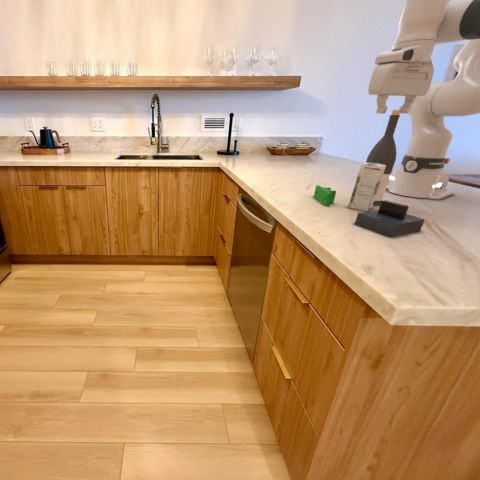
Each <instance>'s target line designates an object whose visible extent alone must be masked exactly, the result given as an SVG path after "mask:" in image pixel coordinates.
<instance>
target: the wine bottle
mask: <svg viewBox="0 0 480 480" xmlns="http://www.w3.org/2000/svg"><path fill="white" fill-rule="evenodd" d="M400 117H401V113H399V109H393V110H392V111H391V114H389V119H388V122H387V125H386V128H385V132H384V135H383V136H382V137H381V138H380V139H379V140H378V142H377V143H376V144H375V145H374V146H373V148H372V149H371V151H370V152H369V154H368V155H367V157H366V161H365V163H378V164H383V165H386V168H385V170H384V173H383V176H382V179H381V182H380V185H379V188H378V191H377V194H376V197H375V200H374V203H373V205H372V206H380V205H381V202H382V201H383V200H384V199H383V198H384V196H385V193H386V190H387V189H386V187H387V185H388V183H389V181H390V176H392V172H393V170H394V166H395V163H396V161H397V144H396V141H395V138H394V134H395V131H396V128H397V125H398V122H399V118H400Z"/></svg>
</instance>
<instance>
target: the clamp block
mask: <svg viewBox="0 0 480 480" xmlns="http://www.w3.org/2000/svg"><path fill="white" fill-rule="evenodd" d="M378 210H379V209H371V210H368V211H361V212H357V214H356V219H355V222H354V225H356V226H357V227H361V228H364V229H365V230H369V231H372V232H374V233H377V234H380V235H383V236H385V237H388V238H394V237H399V236H404V235H408V234H414V233H418V232H421V230H422V228H423V225H424V223H425V220H426V219H425V218H422V217H419V216H415V215H412V214H408V213H406V215H405V218H404V219H401V220H400V219H397V218H394V217H390V216H387V215H384V214H381V213H378Z"/></svg>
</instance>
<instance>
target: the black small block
mask: <svg viewBox="0 0 480 480" xmlns="http://www.w3.org/2000/svg"><path fill="white" fill-rule="evenodd" d="M377 210H378V213H381V214H384V215H387V216H390V217H394V218H397V219H400V220H401V219H404V218H405V215H406V214H408V210H409V205H408V204H404V203H403V204H402V203H398V202H394V201H390V200H387V199H386V200H384V199H383V200H382V202H381V203H380V205H379V208H378V209H377Z"/></svg>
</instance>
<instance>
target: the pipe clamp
mask: <svg viewBox="0 0 480 480" xmlns="http://www.w3.org/2000/svg"><path fill="white" fill-rule="evenodd" d="M331 189H332V188H331V187H323V186H321V185H319V184H316V185H315V189H314V193H313V198H314V199H315V200H317V201H318V202H320V203H321V204H322V205H323V206H324V207H329V206H330V204H331V205H332V204H334V203H335V199H336V194H337V190H333V189H332V190H331Z"/></svg>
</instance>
